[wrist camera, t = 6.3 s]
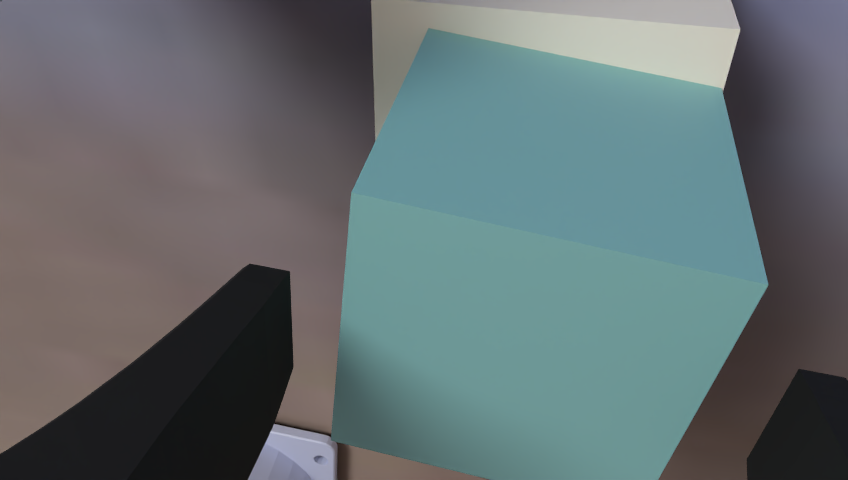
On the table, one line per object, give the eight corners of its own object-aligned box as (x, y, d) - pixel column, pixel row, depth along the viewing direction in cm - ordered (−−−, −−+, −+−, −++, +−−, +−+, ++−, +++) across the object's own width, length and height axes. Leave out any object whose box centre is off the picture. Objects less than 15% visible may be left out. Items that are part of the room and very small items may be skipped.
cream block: (654, 197, 19) (661, 306, 16) (415, 169, 20) (378, 268, 17) (714, -51, 15) (740, 29, 12) (417, -72, 16) (371, -3, 13)
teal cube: (632, 302, 16) (637, 515, 12) (398, 249, 16) (330, 440, 12) (721, 88, 13) (767, 284, 9) (428, 27, 13) (350, 192, 9)
